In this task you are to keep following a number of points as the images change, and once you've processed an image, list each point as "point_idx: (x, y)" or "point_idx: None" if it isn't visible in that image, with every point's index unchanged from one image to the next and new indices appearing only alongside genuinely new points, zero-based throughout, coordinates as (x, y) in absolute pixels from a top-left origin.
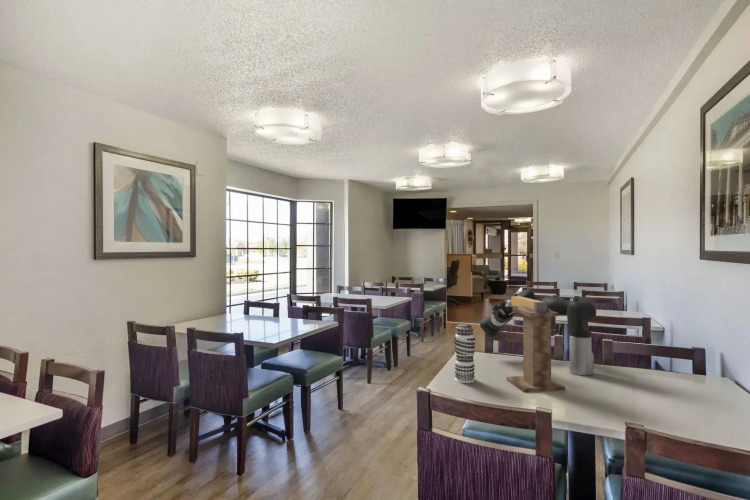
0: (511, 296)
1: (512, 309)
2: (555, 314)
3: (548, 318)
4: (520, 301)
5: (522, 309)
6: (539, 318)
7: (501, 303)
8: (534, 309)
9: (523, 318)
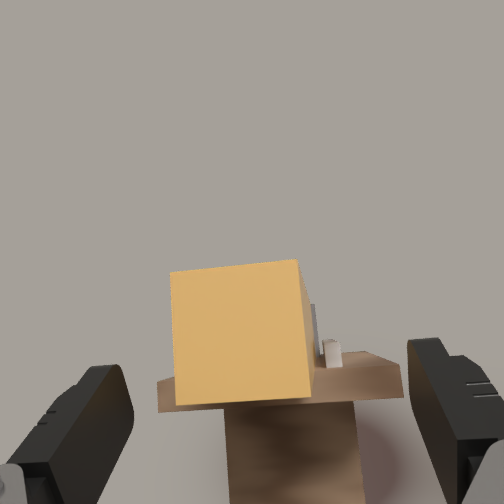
0: (297, 260)
1: (400, 379)
2: None
3: None
4: (308, 314)
5: (349, 360)
6: None
7: (481, 373)
8: (330, 339)
9: (355, 424)
